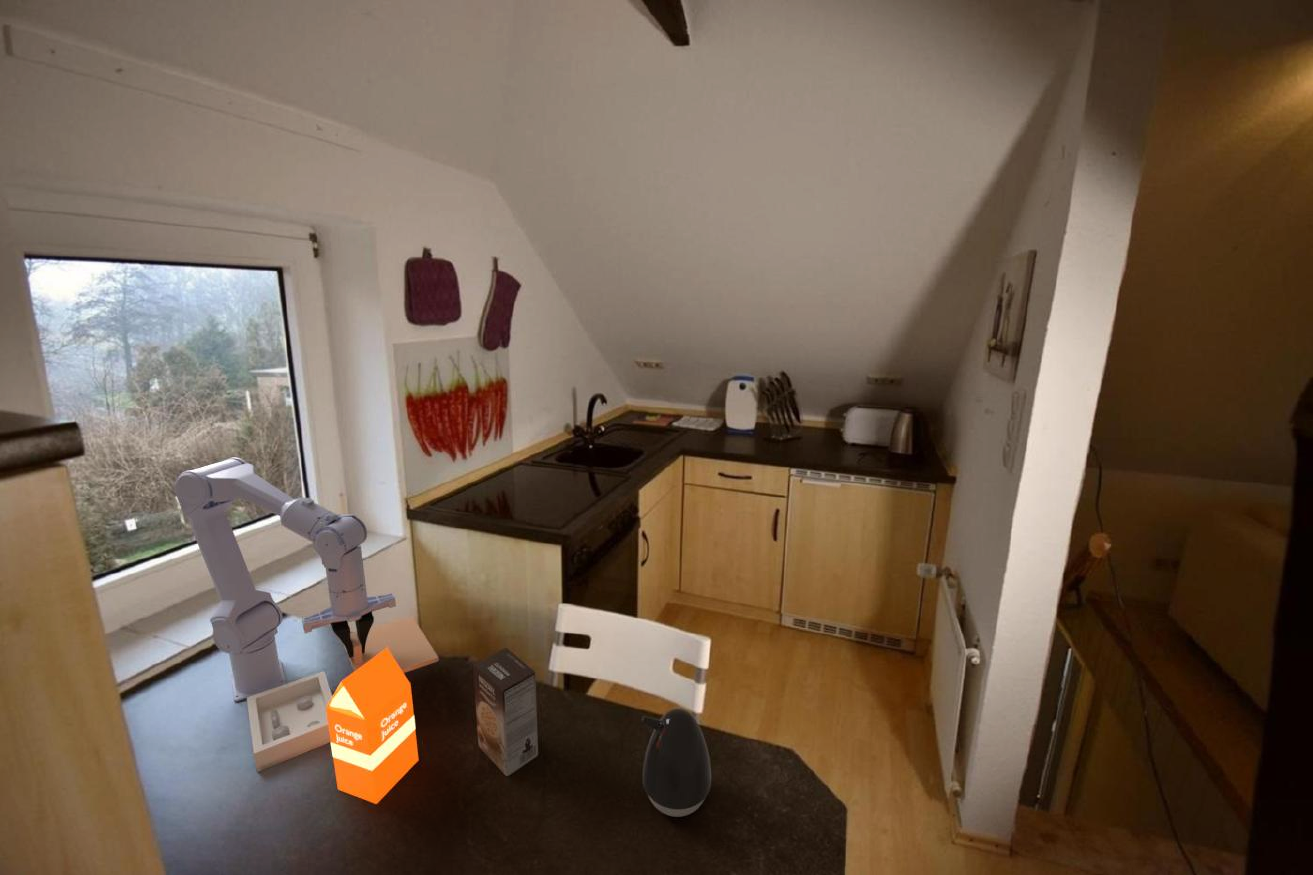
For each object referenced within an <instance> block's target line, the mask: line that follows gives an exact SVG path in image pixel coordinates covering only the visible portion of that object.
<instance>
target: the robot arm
mask: <svg viewBox="0 0 1313 875" xmlns="http://www.w3.org/2000/svg"><path fill="white" fill-rule="evenodd" d="M172 489H173V491H174V493H175V495H176V499H177V501H178V503H179V506H180V508H181V511H182V513H183V515H184V517H185V518H187V520H188V523H189V525H190V528H191V530H192V534H193V535H194V538H195V540H196V543H197V546H198V548H199V550H200V552H201V553H200V554H201V555H202V558H203V560H204V563H205V565H206V568H207V570H208V573H209V576H210V578H211V580H212V582H213V585H214V588H215V590H216V592H217V595H218V597H219V601H220V602H219V604H218V606H217V607H216V609H215V610H214V612H213V614H212V615H211V617H210V618H209V619H210V620H209V621H210V624H211V626H212V639H213V642H214V644H215V646H216V647H217V648H218V649H219V650H220V651H222V652H223V653H225V654H228V656H229V661H230V665H231V667H230V668H231V672H232V674H231V682H232V692H233V693H232V695H233V701H234V702H239V701H242V700H247V697H250V696H252V695H255V694H258V693H261V692H264V691H267V690H270V689H273V688H276V687H279V686H282V685H285V684H287V683H286V679H285V674H284V669H283V665H282V661H281V659H280V658H279V653H278V648H277V642H276V637H275V636H276V635H277V634H278V633H279V632H278V627H279V626H280V625H281V624H282V622H283V617H284V616H283V612H282V609H281V607H280V606H279V605H278V604H277V603H276V601H274V599H273V597H272V595H271V592H268V591H266V590H260V589H256V587H255V584H254V582H253V580H252V577H251V574H250V572H249V568H248V566H247V564H246V562H245V558H244V556H243V554H242V550H241V548H240V546H239V544H238V541H237V538H236V536H235V532H234V531H233V528H232V525H231V523H230V522H231V521H230V520H229V517H228V515H227V512H228V509H229V508H230V507H231V505H232V504H233V502H234V500H239V499H241V500H243V501H245V502H248V503H251V504H252V505H254V506H257V507H259V508H260V509H263V510H265V511H268V512H269V513H272V514H274V515H276V516H279V518H280V523H281V525H282V526H283V527H284V528H285V529H287V530H289V531H290V532H291V531H292V532H293V533H295V534H297V535H299V536H300V537H302V538H304V539H306V540H307V541H310V542H311V543H312V545H313V548H314V550H315V552H316V553H317V554H318V556H319V557H320V559H321V565H323V567H324V568H325V573H326V580H327V589H328V596H329V600H330V603H329V604H330V607H328V608H326V609H323V610H321V611H318V612H317V613H314V614H312V615H309V616H307V617H303V618H302V619H301V623H302V628H303V631H304V634H309V633H311V632H312V631H313V630H316V629H318V628H322V627H325V626H329V625H330V626H331V629H332V631H333V633H334V634H335V636H337V638H339V640H340V641H341V643H342V644H344V645H343V647H344V646H345V647H346V650H347V652H346V655H347V654H348V655H347V657H348V656H349V657H348V659H349V658H351V657H353V649H352V645H351V637H350V633H351V628H350V625H349V623H353V622H355V627H356V632H357V636H358V639H359V641H360V643H361V647H362V654H363V653H365V645H366V640H367V636H368V633H369V631H370V628H371V627H373V625H374V623H375V622H374V620H375V617H374V615H373V612H377V611H380V610H382V609H387V608H389V609H391V608H395V607H396V606H397V604H396V603H397V602H396V596H395V595H394V593H393V592H391V593H386V594H381V595H374V596H373V595H372V596H368V592H367V585H366V577H365V576H366V575H365V568H364V560H363V552H362V545H361V544H363V543H364V542H366V539H367V537H368V531H367V526H366V525H365V522H364V521H362V520H361V519H360V518H359V517H358V516H356V515H355V514H349V513H347V514H341V513H338V514H337V513H335V512H332V511H331V510H329V509H327V508H325V507H323V506H322V505H320V504H318V503H316V502H315V500H313V499H312V498H310V497H299V498H296V499H294V498H292V497H291V496H290V495H288V494H287V493H285V492H284V491H282V490H281V489H279V488H278V487H276V486H275V485H273V484H271V483H270V482H269V481H267V480H265V479H264V478H262V477H261V476H259V475H258V473H257V470H256V468H255V465H253V464H251V463H248V462H247V461H246V460H244V459H243V458H241V457H234V456H233V457H230V458H227V459H225V460H223V461H218V462H216V463H212V464H209V465H205V466H202V467H198V468H195V469H191V470H189V469H188V470H186V471H183V472H181V473H180V474H179V475H178V477H177V478H176V480H175V482H174V484H173V486H172ZM345 647H344V648H345ZM346 650H345V651H346Z"/></svg>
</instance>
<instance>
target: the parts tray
mask: <svg viewBox="0 0 1313 875" xmlns="http://www.w3.org/2000/svg"><path fill="white" fill-rule="evenodd" d="M330 688H331V687H330V685H329V683H328V678H327V676H326V673H325V671H324V670H323V671H320V672H318V673H315V674H314V673H313V674H312V675H307V676H305V677H302V678H300V679H297V680H293V681H290V682H288V683H286V684H285V685H282V686H279V687H276V688H273V689H270V690H267V691H264V692H261V693H258V694H255V695H252V696H250V697H247V698H246V701H247V702H246V703H247V704H246V705H247V712H248V717H249V718H248V719H249V727H250V734H251V743H252V750H253V757H254V763H255V768H256V772H257V773H259V772H261V771H265V770H266V769H268V768H271V767H274V766H276V765H278V764H280V763H283V762H286V761H287V760H291V759H292V758H293V759H294V758H295V757H298V756H300V755H303V754H305V753H307V752H309V751H312V750H314V749H317V748H319V747H322V746H324V745H327V744H329V743H330V742H331V740H330V733H329V726H328V719H327V713H326V707H327V705H328V703H329V702H330V700H331V698H332V696H333V694H332V690H331V689H330Z"/></svg>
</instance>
